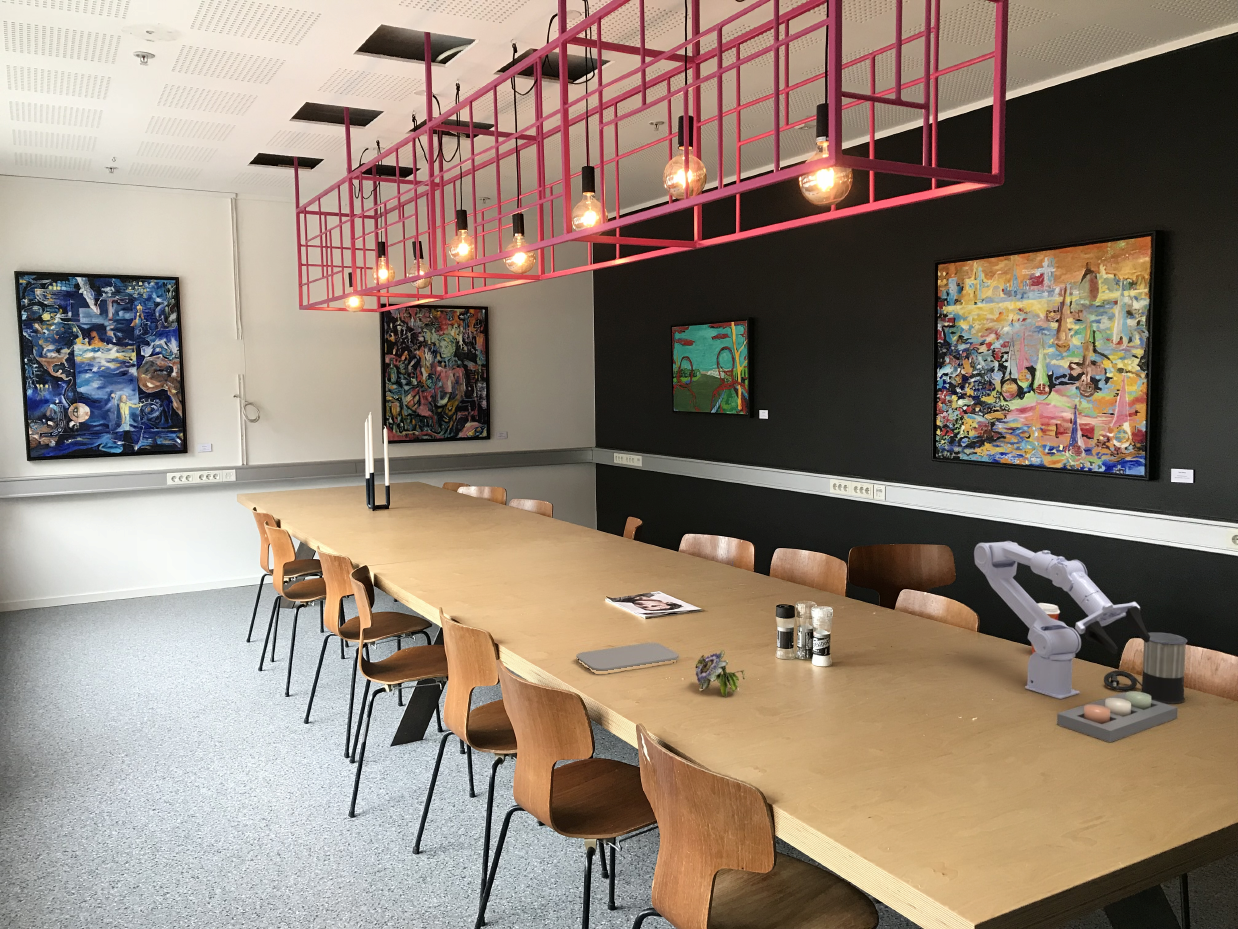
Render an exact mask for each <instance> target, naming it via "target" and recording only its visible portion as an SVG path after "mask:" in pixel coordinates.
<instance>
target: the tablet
mask: <svg viewBox="0 0 1238 929" xmlns="http://www.w3.org/2000/svg"><path fill="white" fill-rule="evenodd" d="M575 657H577V658H578V659H579V660H580V661H581V662H583V663H584V664H585V665H587V666H588V667H589V668H591V669H592V670H596V671H608V670H614V669H621V668H627V667H633V666H640V665H646V664H652V663H659V662H665V661H671V660H676V661H677V660H678V659H679V658H680V656H679V653H678V652H676V651H674V650H672V649H670V648H668V647H666V646H664V645H663V644H661V643H658V642H643V643H636V644H630V645H623V646H616V647H610V648H609V647H608V648H602V649H596V650H595V649H594V650H590V651H589V650H588V651H582V652H579V653H577V654H576V656H575ZM577 658H576V659H577ZM578 659H577V660H578ZM579 660H578V661H579Z"/></svg>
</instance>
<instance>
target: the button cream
mask: <svg viewBox="0 0 1238 929" xmlns="http://www.w3.org/2000/svg"><path fill="white" fill-rule="evenodd" d="M1106 698H1107V699H1106V700H1105V707H1107V708H1109V709H1110V713H1112V714H1115V715H1119V716H1122V717H1125V716H1128V715H1131V702H1129V701H1127V700H1124V699H1120V698H1108V697H1106Z"/></svg>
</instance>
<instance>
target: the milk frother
mask: <svg viewBox="0 0 1238 929" xmlns="http://www.w3.org/2000/svg"><path fill="white" fill-rule="evenodd" d="M1148 634H1149V635H1150V640H1149V642H1147V643H1146V642H1144V641H1143V651H1142V652H1143V653H1142V654H1143V655H1142V656H1143V657H1142V658H1143V659H1142V679H1141V682H1140V681H1139V679H1137V678H1136V677H1135V675H1133V674H1132V673H1130V672H1128V671H1124V670H1121V669H1120V670H1119V669H1118V670H1117V669H1116V670H1112V671H1110V672H1108V673H1106V674H1104V676H1103V683H1104V685H1105V686H1106V687H1108V688H1110V689H1112V690H1115V691H1118V692H1119V691H1120V692H1130V691H1134V689H1136V687H1137V685H1140V686H1141V690H1140V692H1142V693H1146V694H1149V695H1150V696H1151V700H1154V701H1157V702H1161V703H1164V704H1168V705H1171V704H1175V705H1176V704H1182V703H1184V702H1185V687H1184V686H1185V672H1186V671H1185V668H1186V667H1185V666H1186V645H1187V644H1188V643H1187V642H1188V639H1187V638H1185V637H1183V636H1181V635H1177V634H1173V633H1166V632H1148ZM1118 677H1124V678H1126V679H1128V680H1129V681H1130V684H1128V685H1124V686H1123V685H1120V680H1119V679H1118Z"/></svg>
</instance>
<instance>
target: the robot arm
mask: <svg viewBox="0 0 1238 929" xmlns="http://www.w3.org/2000/svg"><path fill="white" fill-rule="evenodd" d="M973 556H974V564H975V565H976V567H977V568H978V569H979V570H980V571H981V572H982V573H983V574H984V575H985V577H986V579H987V581H988V583H989V585H990V586H991V588H992V589H993V590H994V592H995V593H997V594H998V595H999V597H1001V599H1002V600H1003V601H1004V602H1005V603H1006V605H1008V607H1009V608H1010V609H1011V610H1012V611H1013V612H1014V613H1015V614H1016V615H1017V617H1019V619H1020V620H1021V621H1022V622H1023V623H1024V624H1025V625H1026V626H1027V628H1028V629H1029V631H1028V635H1027V640H1029V642H1030V643H1031V646H1032V645H1033V647H1034V649H1035V651H1036V652H1034V653H1033V654H1032V653H1031V655H1030V656H1029V658H1028V661H1027V684H1026V685H1025V686H1024V687H1025V689H1026V690H1029V691H1030V690H1031V691H1033V692H1036V693H1039V694H1043V695H1045V696H1050V697H1053V698H1055V699H1059V700H1061V699H1065V698H1068V697H1072V696H1075V695H1079V694H1080V691H1079V690H1076V689H1073V686H1072V685H1073V661H1074V659H1073V658H1076V654H1077V653H1078V652H1079V651H1080V650H1081V646H1082V639H1081V636H1080V635H1083V634H1085V635H1084V637H1085V638H1086V640H1088V641H1091V642H1093V643H1095V644H1098V645H1100V646H1101V647H1103V648H1104V649H1106V650H1107V651H1109V652H1110V653H1112V655H1117V654H1118V652H1119V650H1118V649H1119V647H1118V646H1117V644H1116V643H1115V642H1114V641H1113V639H1112V638H1111V637H1110V636H1109V635H1108V634H1107V633H1106V631H1105V629H1104V628H1103V627H1105V626H1107V625H1110V624H1111V623H1113V622H1115V621H1116V620H1120V619H1121V618H1125V620H1126V622H1125V623H1126V624H1125V626H1127V627H1128V628H1130V629H1131V630H1132V631H1133V632H1134V633H1136V634H1137V636H1139V638H1140V639H1141V640H1142V641H1143V643H1144V642H1146V643H1147V642H1149V640H1150V635H1149V634H1148V633H1149V631H1148V630H1147V629H1146V627H1145V624H1144V622H1143V619H1142V614H1141V606H1140V605H1139V604H1138V603H1137V602H1136V601H1132V602H1129V603H1128V602H1127V603H1122V604H1113V602H1111V600H1110V599H1109V598H1108V597H1107V596H1106V594H1104V593H1103V592H1102V590H1100V588H1099V587H1098V586H1097V585H1096V584H1095V583H1094V581H1093V580H1091V578H1090V577H1089V576H1088V570H1087V568H1086V565H1085V564H1084V562H1082V561H1080V560H1078V559H1072V560H1067V559H1066V558H1065V557H1064V556H1057V555H1053V554H1051V551H1050V550H1042V551H1037V552H1033V551H1032V550H1029V549H1027V548H1026V547H1023V546H1020V545H1019V544H1018V543H1017V542H1012V541H1010V540H1006V541H999V542H978V544H976V546H975V547H974V551H973ZM1018 563H1020V564H1022V565H1025V566H1029V567H1030V569H1031V571H1032V572H1033V573H1035V574H1036V575H1040V576H1042V577H1044V578H1046V579H1049V580H1051V581H1052V584H1053V585H1054V586H1056V587H1058V588H1062V590H1063V591H1064V592H1067V593H1068V594H1069V596H1071V598H1072V599H1073V600H1074V601H1075V602H1076V603H1077V605H1078V606H1079V607H1080V608H1081V609H1082V610H1083V611H1084V612H1085V614H1086V615H1087V617H1085V618H1084V619H1081V620H1079V621H1077V622H1075V627H1074V628H1075V629H1074V628H1073V627H1070V626H1067V625H1066V623H1065V622H1064V621H1061V620H1059V619H1058V620H1055V619H1052V618H1050V617H1049V616H1048V615H1047V614H1046V613H1045V612H1044V611H1043V610H1042V609H1041V607H1040V606H1039V605H1038V604H1037V602H1036V601H1035V600H1034V599H1033V598H1032V597H1031V596H1030V595H1029V594H1028V593H1027V592H1026V591H1025V589H1024V588H1023V587H1022V586H1021V585H1020V584H1019V583H1018V582H1017V581H1016V580H1015V579H1014V576H1016V574H1017V569H1018V568H1017V567H1018Z"/></svg>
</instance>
